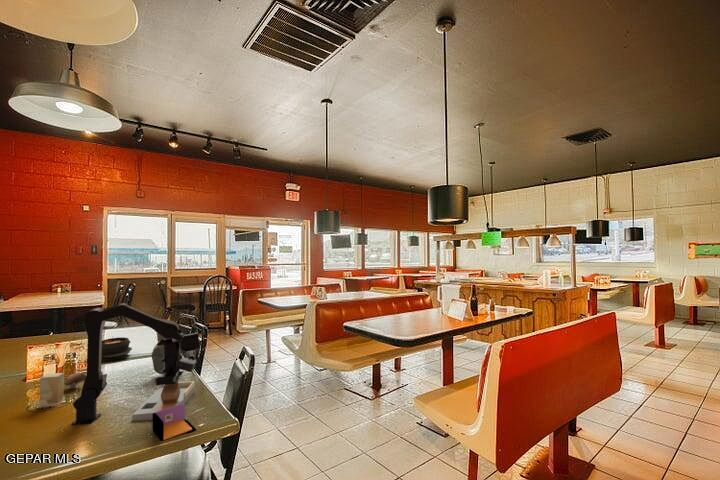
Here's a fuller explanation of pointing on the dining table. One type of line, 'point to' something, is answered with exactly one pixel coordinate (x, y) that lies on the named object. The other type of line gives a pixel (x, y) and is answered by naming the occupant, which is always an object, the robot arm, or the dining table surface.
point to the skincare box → (51, 389)
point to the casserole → (115, 347)
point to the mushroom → (75, 379)
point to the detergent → (158, 356)
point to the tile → (165, 406)
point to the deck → (155, 401)
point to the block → (170, 393)
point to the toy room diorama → (171, 423)
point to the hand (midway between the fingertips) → (174, 392)
